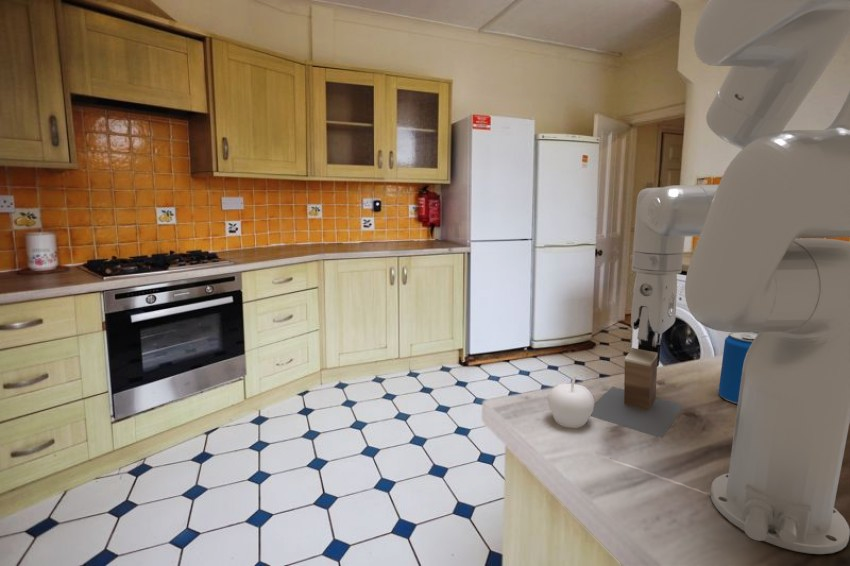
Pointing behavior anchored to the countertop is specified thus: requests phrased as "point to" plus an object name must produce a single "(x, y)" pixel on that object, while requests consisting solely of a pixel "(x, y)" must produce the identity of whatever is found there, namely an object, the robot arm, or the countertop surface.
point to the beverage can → (734, 364)
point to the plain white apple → (571, 404)
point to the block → (640, 378)
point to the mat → (636, 413)
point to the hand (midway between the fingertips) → (647, 365)
